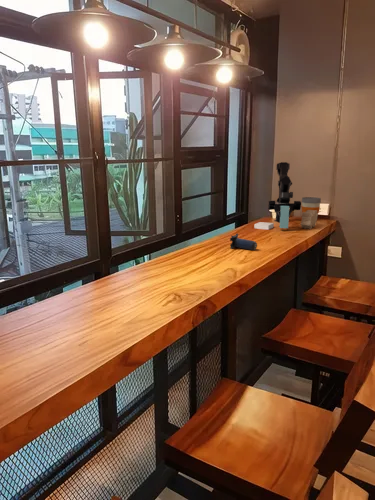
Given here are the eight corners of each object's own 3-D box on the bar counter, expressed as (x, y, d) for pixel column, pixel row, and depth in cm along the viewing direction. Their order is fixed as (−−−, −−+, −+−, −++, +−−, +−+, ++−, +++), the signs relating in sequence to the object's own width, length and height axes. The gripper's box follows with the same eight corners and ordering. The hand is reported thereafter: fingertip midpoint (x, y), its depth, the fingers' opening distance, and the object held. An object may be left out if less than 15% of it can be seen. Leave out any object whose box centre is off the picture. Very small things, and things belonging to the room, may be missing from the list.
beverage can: (229, 251, 189) (253, 255, 184) (229, 236, 186) (253, 240, 181) (236, 244, 196) (259, 248, 191) (236, 230, 193) (260, 233, 188)
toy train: (300, 229, 238) (301, 212, 236) (307, 224, 253) (308, 209, 250) (309, 230, 236) (310, 213, 233) (316, 225, 250) (317, 210, 248)
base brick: (259, 226, 249) (260, 222, 248) (273, 228, 244) (273, 223, 244) (254, 228, 242) (254, 224, 241) (268, 230, 237) (268, 225, 236)
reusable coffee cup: (317, 218, 277) (319, 197, 273) (320, 221, 265) (322, 199, 261) (299, 218, 279) (300, 197, 275) (301, 221, 267) (302, 198, 263)
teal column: (279, 226, 236) (280, 205, 233) (287, 226, 235) (288, 205, 232) (279, 228, 231) (281, 206, 228) (288, 228, 231) (289, 206, 228)
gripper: (269, 186, 233) (268, 207, 225) (301, 187, 230) (302, 208, 222) (268, 198, 242) (268, 219, 234) (299, 199, 239) (300, 220, 231)
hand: (284, 216), depth 230 cm, fingers closed on teal column, 5 cm apart
